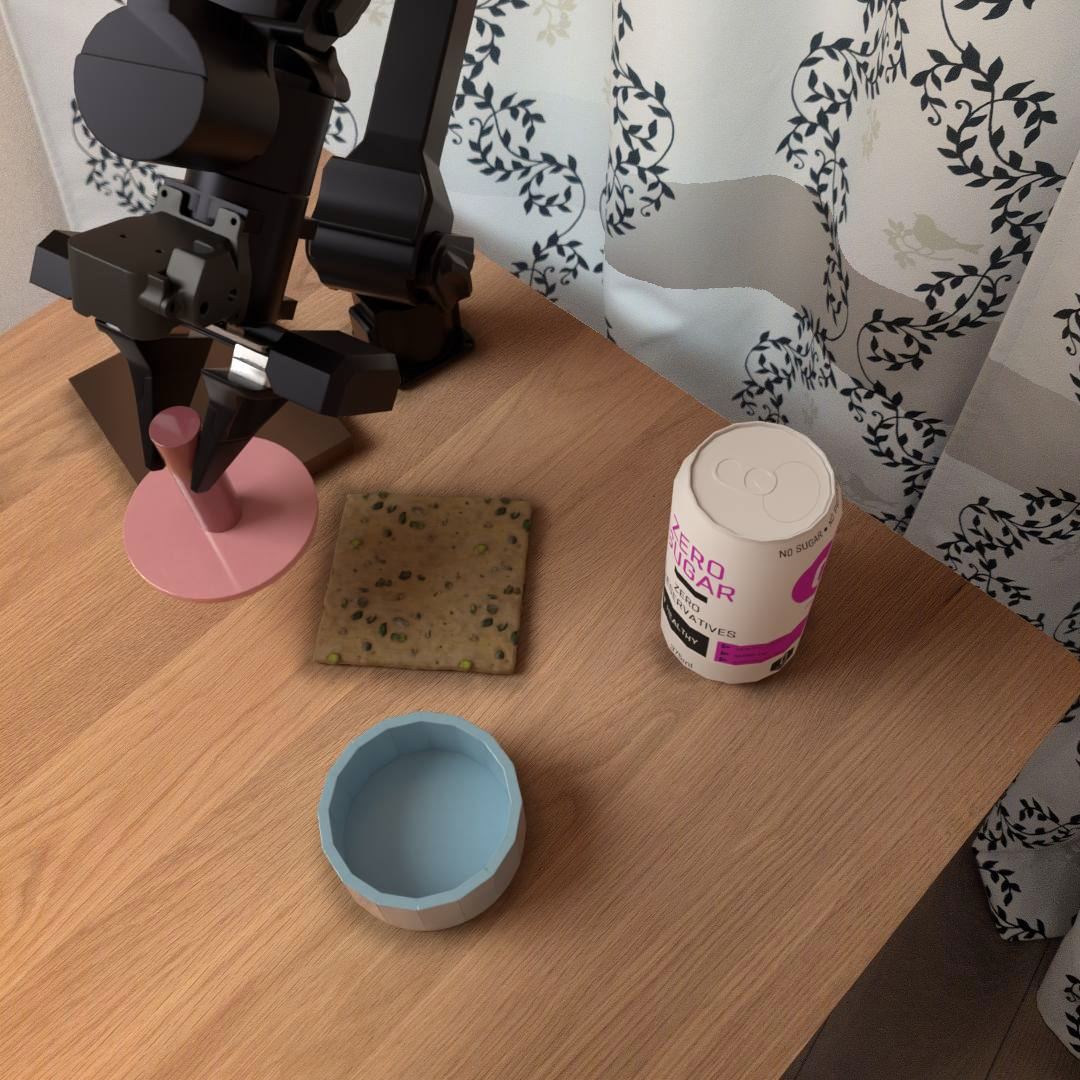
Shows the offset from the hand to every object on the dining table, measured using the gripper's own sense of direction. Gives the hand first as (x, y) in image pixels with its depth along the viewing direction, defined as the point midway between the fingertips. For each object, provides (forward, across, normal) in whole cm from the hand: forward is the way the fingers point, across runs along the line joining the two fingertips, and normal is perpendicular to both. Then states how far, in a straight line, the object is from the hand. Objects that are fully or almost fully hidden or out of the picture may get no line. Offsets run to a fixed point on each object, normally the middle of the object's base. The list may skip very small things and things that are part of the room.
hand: (176, 480), depth 59 cm
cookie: (+5, +9, +14) cm, 17 cm away
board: (+2, -10, +16) cm, 19 cm away
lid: (+3, 0, +5) cm, 6 cm away
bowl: (+14, +18, +4) cm, 23 cm away
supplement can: (0, +27, +18) cm, 32 cm away
